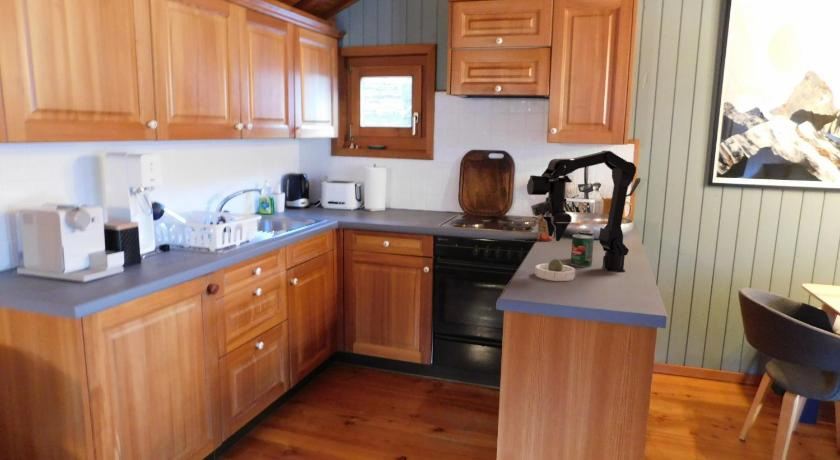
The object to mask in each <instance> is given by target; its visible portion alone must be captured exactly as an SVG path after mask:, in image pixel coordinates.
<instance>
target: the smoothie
mask: <svg viewBox="0 0 840 460" xmlns="http://www.w3.org/2000/svg"><path fill="white" fill-rule="evenodd" d="M537 218H538V222H537V223H538V224H537V226H538V228H537V230H538V231H537V232H538V233H537V237H538V239H539V241H542V242H552V240H553V239H554V236H555V232H554V233H553V235H552V236H549V234H548V229H547V224H546V221H545V220H544V219H543V218H542V215H538V216H537Z"/></svg>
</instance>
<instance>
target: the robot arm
mask: <svg viewBox="0 0 840 460" xmlns="http://www.w3.org/2000/svg"><path fill="white" fill-rule="evenodd" d="M600 164H604V165H605V166H606V167H607V168H608V169H610V170H611V179H612V182H613V189H612V195H611V202H610V206H609V211H608V216H607V217H608V218H607V223H606V225H605V226H604V228H603V227H600V229H599V235H598V237H597V238H598V239H599V244H600V245H601V247H602V250H603V252H604V256H603V257H602V266H601V267H602V268H603V269H604V270H606V271H607V272H626V269H624V267H625V259H626V258H625V257H626V256H628V253H629V248H628V247H627V246H626V245H625V244H624V233H623V228H622V221H623V216H624V213H625V212H624V211H625V205H626V201H627V200H626V199H627V196H628V189H629V187H630V185H631V183H633V181H634V179H635V175H636V173H637V166H636V165H635V163H634V162H631V161H627V160H626V159H624V158H623V157H620V156H619V155H617V154H616V153H615V152H613V151H611V150H602V151H600V152H595V153H590V154H587V155H581V156H577V157H573V158H553V159H551V160H550V161H549V163H548V165H547V167H546V169H544V171H543V173H542V174H541V175H534V174H533V175H532V174H531V175H530V176H529V179H528V180H527V181H528V182H527V184H526V191H527V194H528V195H529V196H545V195H547V194H548V195H547V197H545V201H543V202H539V203H536V204H533V205H531V206H530V208H531V211H532V215H533V216H535V217H538V215H542V218H543V219H544V220H545V221H546V224H547V229H548V234H549V236H552V235H553V233H554V235H553V236H555V237H554V238H555V241H556V242H560V240H561V238H562V236H563V235H564V233H565V231H566V229H568V226H569V225H570V224H571V223H572V218H573V217H572V216H571V215H570V213H567V212H566V210H565V203H566V202H567V198H566V187H567V183H573V180H572V179H571V178H570V177H569V174H572V173H573V172H575V171H577V170H579V169H583V168H584V169H585V168H587V167H588V168H589V167H592V166H597V165H600Z"/></svg>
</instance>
